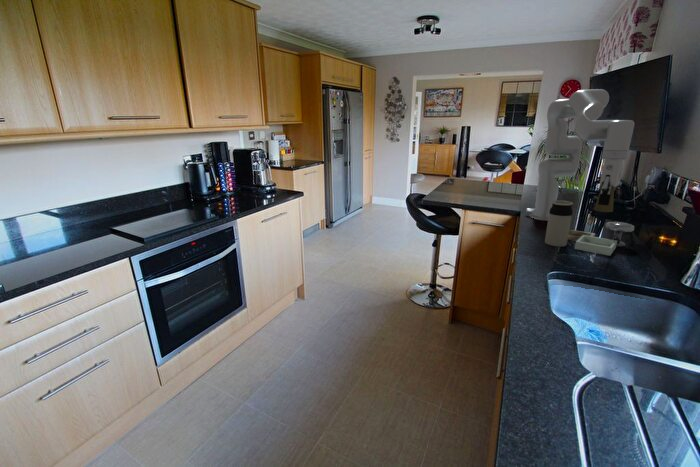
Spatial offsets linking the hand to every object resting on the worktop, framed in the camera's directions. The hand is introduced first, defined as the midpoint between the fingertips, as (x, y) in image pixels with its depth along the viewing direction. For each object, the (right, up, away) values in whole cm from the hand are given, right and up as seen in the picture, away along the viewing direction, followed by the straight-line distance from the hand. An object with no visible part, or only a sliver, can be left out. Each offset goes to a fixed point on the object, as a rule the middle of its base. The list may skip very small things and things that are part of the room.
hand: (604, 203), depth 127 cm
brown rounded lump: (0, -3, +1) cm, 3 cm away
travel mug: (-12, -16, +12) cm, 23 cm away
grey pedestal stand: (+12, -16, +9) cm, 22 cm away
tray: (+1, -18, +6) cm, 19 cm away
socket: (+2, -14, +18) cm, 23 cm away
